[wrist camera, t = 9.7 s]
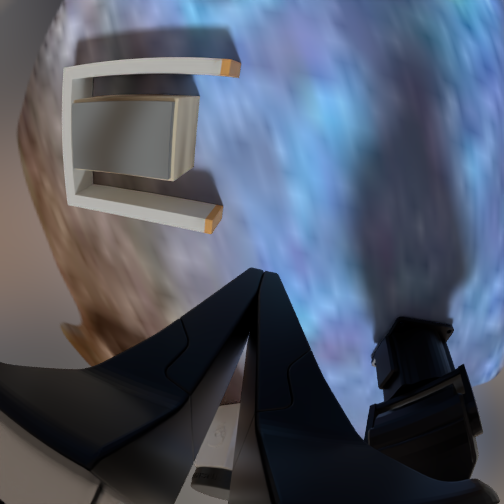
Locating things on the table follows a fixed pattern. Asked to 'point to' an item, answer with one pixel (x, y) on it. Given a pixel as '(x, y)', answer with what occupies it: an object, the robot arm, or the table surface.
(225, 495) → the jar
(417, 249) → the table surface
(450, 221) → the table surface
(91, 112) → the grey beige block
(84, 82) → the frame
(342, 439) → the robot arm
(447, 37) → the table surface
